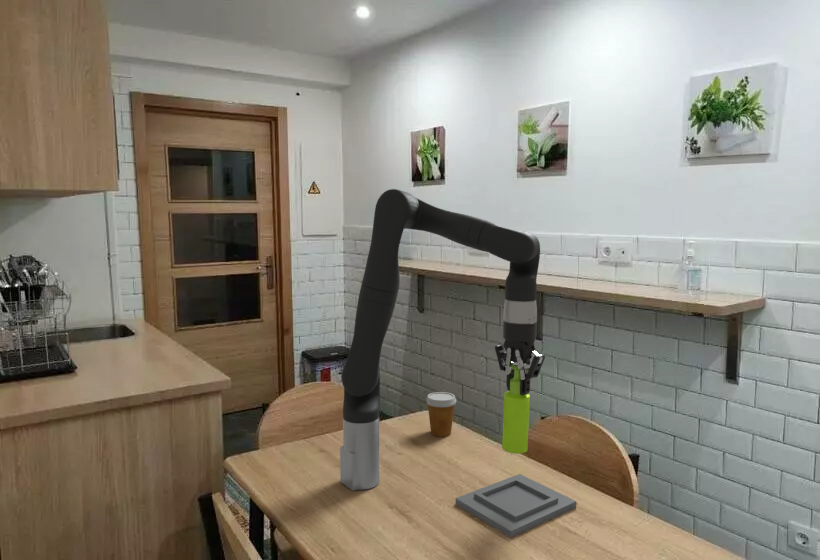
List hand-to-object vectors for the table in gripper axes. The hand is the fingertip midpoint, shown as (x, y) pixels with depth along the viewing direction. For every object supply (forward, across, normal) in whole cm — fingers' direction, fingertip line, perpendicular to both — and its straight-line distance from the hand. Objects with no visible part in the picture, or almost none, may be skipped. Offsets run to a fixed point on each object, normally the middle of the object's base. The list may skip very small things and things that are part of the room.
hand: (517, 391), depth 136 cm
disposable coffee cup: (+28, -46, +15) cm, 56 cm away
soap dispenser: (+14, 0, 0) cm, 14 cm away
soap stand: (+28, 0, 0) cm, 28 cm away
